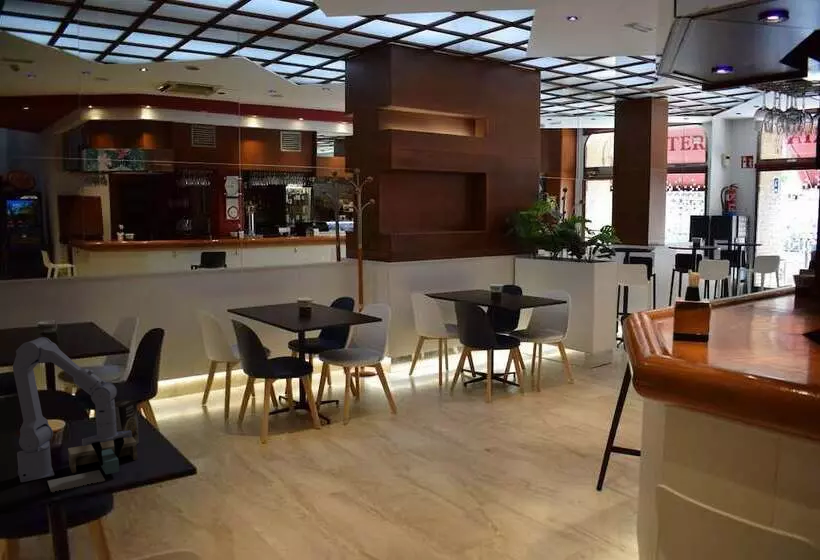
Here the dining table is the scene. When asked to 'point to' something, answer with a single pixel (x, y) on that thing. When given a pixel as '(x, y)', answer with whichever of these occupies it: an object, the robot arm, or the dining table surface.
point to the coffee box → (127, 417)
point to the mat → (75, 481)
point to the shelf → (89, 455)
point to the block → (110, 462)
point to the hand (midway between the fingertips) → (109, 463)
